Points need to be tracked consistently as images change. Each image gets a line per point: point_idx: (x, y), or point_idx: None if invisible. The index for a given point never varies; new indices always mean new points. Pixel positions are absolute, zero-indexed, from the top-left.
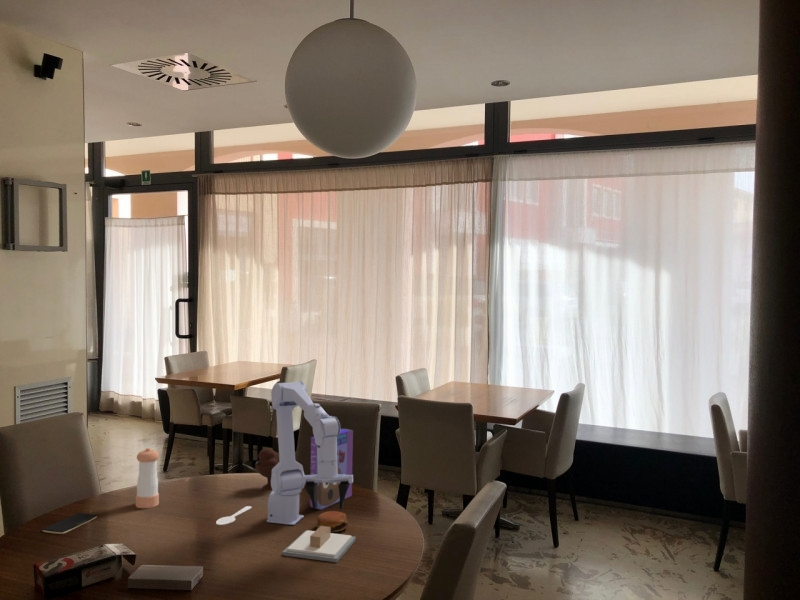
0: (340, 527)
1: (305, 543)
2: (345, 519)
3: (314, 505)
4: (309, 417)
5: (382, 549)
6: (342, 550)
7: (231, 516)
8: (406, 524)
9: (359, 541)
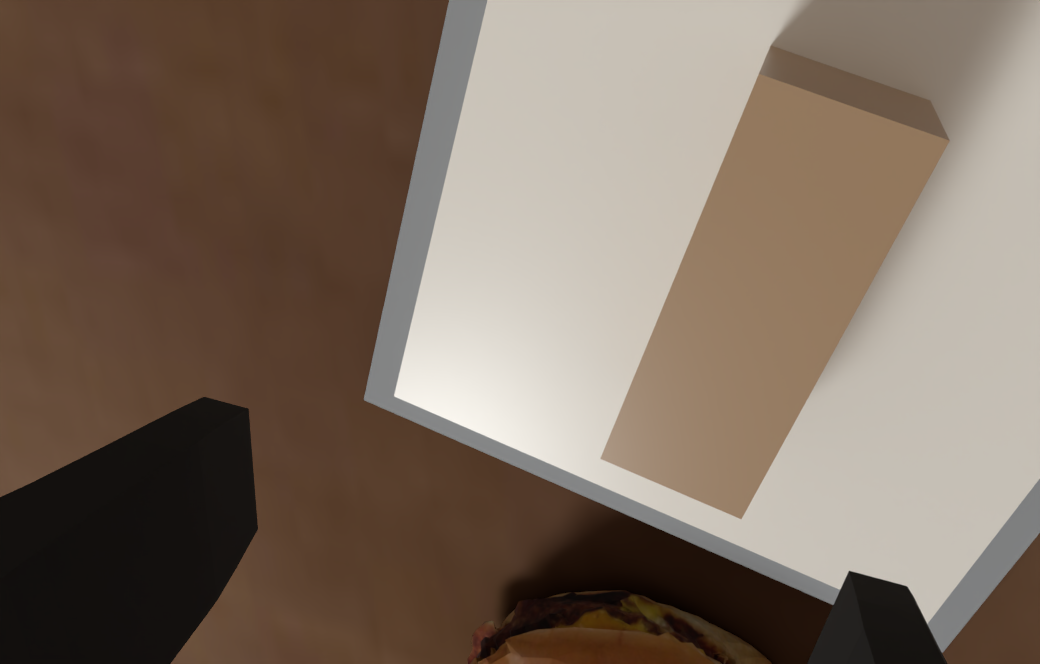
0: (529, 610)
1: (995, 225)
2: None
3: (889, 644)
4: None
5: (101, 133)
6: (464, 19)
7: None
8: None
9: (342, 349)
